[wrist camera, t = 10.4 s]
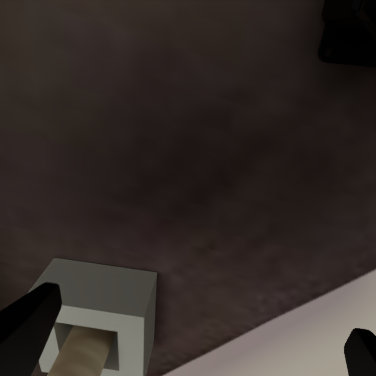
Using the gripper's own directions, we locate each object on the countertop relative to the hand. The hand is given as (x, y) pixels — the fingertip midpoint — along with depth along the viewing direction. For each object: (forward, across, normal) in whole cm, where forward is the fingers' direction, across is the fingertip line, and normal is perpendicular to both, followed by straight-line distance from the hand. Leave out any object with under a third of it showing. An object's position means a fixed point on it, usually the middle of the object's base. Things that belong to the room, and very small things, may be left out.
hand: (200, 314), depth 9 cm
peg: (+12, +8, +15) cm, 21 cm away
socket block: (+12, +8, +15) cm, 21 cm away
